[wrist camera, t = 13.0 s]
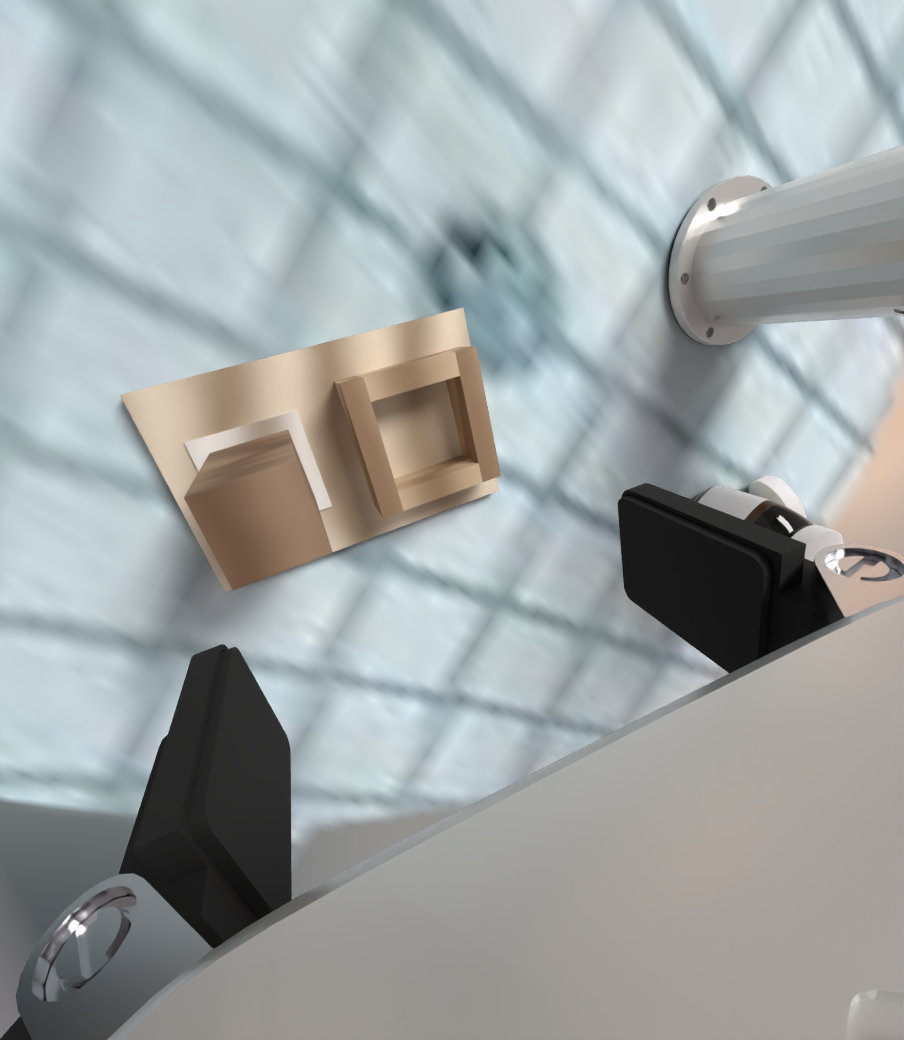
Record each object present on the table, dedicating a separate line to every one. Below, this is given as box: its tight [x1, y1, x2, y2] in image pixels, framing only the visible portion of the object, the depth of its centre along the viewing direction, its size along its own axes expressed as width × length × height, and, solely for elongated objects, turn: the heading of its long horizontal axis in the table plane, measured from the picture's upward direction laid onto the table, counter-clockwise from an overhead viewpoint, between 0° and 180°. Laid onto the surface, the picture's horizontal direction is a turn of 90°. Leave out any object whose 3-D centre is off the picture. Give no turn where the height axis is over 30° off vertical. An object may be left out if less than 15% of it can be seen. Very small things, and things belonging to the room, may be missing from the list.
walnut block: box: [184, 430, 333, 590], centre depth 26 cm, size 5×5×10 cm
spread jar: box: [693, 476, 844, 562], centre depth 44 cm, size 12×11×12 cm
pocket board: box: [120, 308, 501, 592], centre depth 31 cm, size 22×14×4 cm, turn 104°
